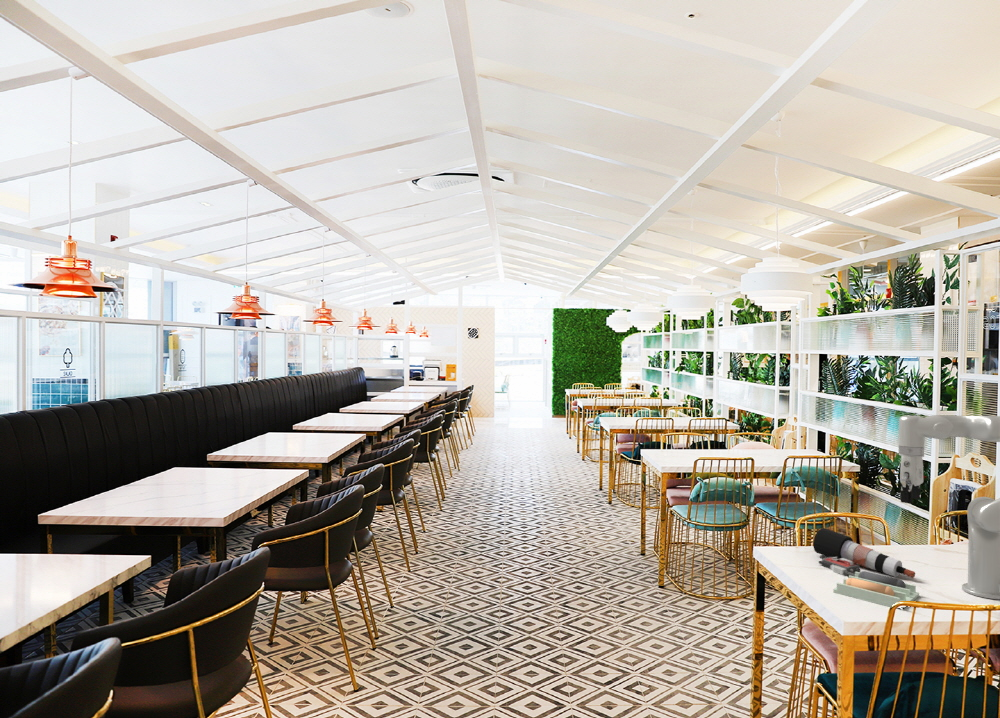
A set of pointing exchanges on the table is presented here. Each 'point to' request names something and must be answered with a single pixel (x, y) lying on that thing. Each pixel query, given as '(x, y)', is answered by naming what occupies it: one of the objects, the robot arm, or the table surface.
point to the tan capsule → (870, 586)
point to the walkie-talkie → (840, 565)
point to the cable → (856, 553)
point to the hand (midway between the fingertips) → (910, 500)
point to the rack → (875, 597)
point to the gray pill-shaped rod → (882, 579)
